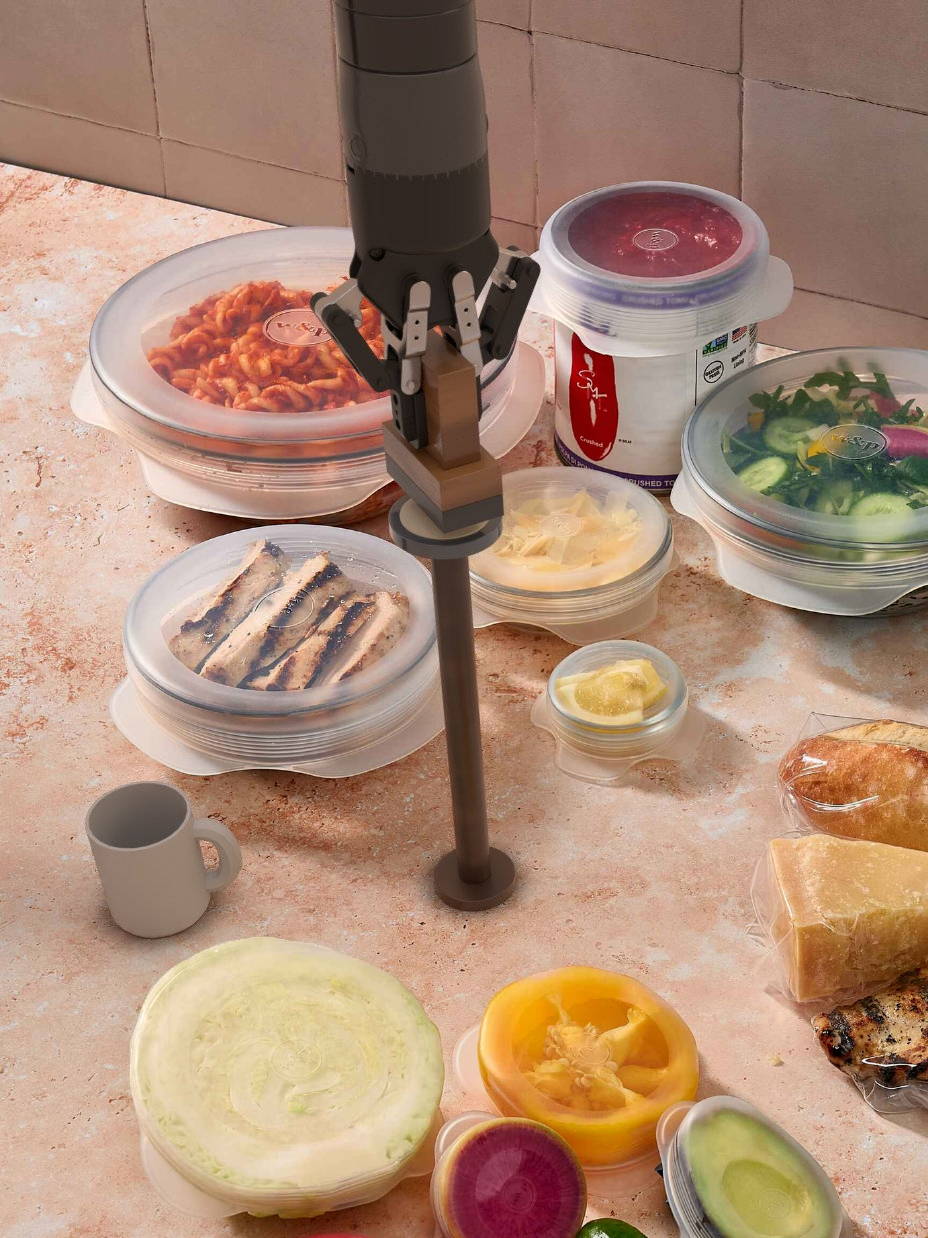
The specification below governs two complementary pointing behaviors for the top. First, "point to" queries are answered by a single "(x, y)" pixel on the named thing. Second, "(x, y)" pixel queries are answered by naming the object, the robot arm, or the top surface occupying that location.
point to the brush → (447, 446)
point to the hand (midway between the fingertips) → (438, 434)
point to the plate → (438, 533)
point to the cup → (157, 857)
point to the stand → (464, 751)
